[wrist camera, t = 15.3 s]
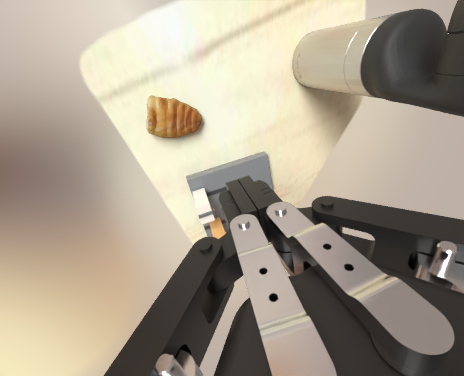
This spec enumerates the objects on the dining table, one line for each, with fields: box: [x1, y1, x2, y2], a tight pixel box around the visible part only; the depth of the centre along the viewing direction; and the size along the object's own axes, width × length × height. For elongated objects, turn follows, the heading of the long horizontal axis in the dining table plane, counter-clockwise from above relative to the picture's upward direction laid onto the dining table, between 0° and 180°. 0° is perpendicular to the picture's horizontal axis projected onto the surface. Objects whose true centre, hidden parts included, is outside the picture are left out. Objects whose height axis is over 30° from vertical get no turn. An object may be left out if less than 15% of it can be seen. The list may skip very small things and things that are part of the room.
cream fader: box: [192, 188, 215, 224], centre depth 45 cm, size 3×4×6 cm, turn 13°
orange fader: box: [209, 217, 226, 239], centre depth 49 cm, size 3×4×6 cm, turn 13°
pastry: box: [146, 96, 201, 138], centre depth 40 cm, size 9×7×4 cm
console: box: [186, 152, 273, 237], centre depth 51 cm, size 17×16×2 cm
